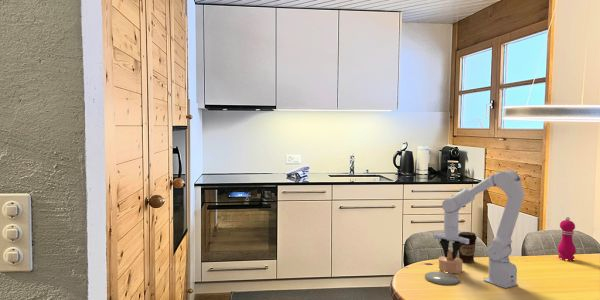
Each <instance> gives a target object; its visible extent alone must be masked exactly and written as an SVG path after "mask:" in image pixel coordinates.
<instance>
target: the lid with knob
mask: <svg viewBox="0 0 600 300" xmlns="http://www.w3.org/2000/svg"><path fill="white" fill-rule="evenodd" d="M463 263H464V262H463V261H462V259H460V258H459V257H457V256H456V259H453V250H448V251H447V258H446V257H445V255H441V256H439V257H438V270H439V269H440V270H442V271H445V272H448V273H450V274H452V273H455V274H456V275H457V273H458V274H461V272H462V273H463ZM440 270H439V271H440ZM442 271H441V272H442ZM455 274H454V275H455Z"/></svg>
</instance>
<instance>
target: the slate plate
mask: <svg viewBox="0 0 600 300" xmlns="http://www.w3.org/2000/svg"><path fill="white" fill-rule="evenodd" d="M424 278H425V280H426V281H428V282H430V283H432V284H436V285H440V286H441V285H442V286H454V285H458V284H459V283H460V277H459V276H457V275H455V274H452V273H445V272H442V271H429V272H426V273H425V274H424Z"/></svg>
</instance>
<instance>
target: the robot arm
mask: <svg viewBox="0 0 600 300" xmlns="http://www.w3.org/2000/svg"><path fill="white" fill-rule="evenodd" d="M492 187H494V188H495V187H498V188H499V189H500V190H501V191H503V192H504V193H505V195H506V197H507V200H506V203H505V207H504V210H503V212H502V215H501V218H500V222H499V225H498V229H497V232H496V235H495V236H494V237H493V239H492V240H491V244H490V245H488V246H487V249H486V255H487V257H488V277H486V278H483V281H484V282H486V283H490V284H493V285H495V286H498V287H501V288H503V289H506V288H511V287H514V286H517V285H519V284H518V283H517V279H518V278H517V276H518V275H517V272H518V268H517V266H516V264H514V263H512V262H511V261H510V258H509V256H510V255H511V254H512V251H513V249H512V243H513V241H512V237H513V236H512V235H513V233H514V230H515V227H516V224H517V221H518V218H519V215H520V211H521V209H522V205H523V202H524V198H525V191H524V189H523V185H522V178H521V177H520V176H519V174H518V173H517V172H516V171H514V170H512V169H508V170H500V171H498V172H496V173H494V174H491V175H489V176H488V177H486V178H485V179H483V180H481V181H480V182H479V183H477V184H475V185H474V186H472V187H471V188H467V187H466V188H460V189H459V192H457V193H456V194H452V195H450V198H445V199H444V200H443V201H442V203H441V207H442V209H443V211H444V212H443V213H444V214H443V233H433V239H435V240H436V239H439V240H440V241H439V244H440V245H441V247H442V251H443V254H444V255H443V256H445V257H446V258H447V251H449V247H450V242H452V243H451V245H452V251H453V259H456V257H457V256H458V254H459V248H460V246H461V244H462V243H465V244H469V239H467V238H463V237H459V236H458V235H459V212H460V210H461V208H463V207H465V206H466V205H468V204H470V203H472V202H474V200H475V199H476V196H477V195H479V194H480V193H482V192H484V191H486V190H488V189H489V188H492Z"/></svg>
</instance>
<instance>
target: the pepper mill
mask: <svg viewBox="0 0 600 300" xmlns="http://www.w3.org/2000/svg"><path fill="white" fill-rule="evenodd" d="M564 219H565V220H562V221H561V222H560V223H559V228H560V233H561V239H560V242H559V244H558V246H557V251H558V253H559V254H558V259H559V258H562V259H568V260H573V259H576V258H575V257H576V256H575V255H576V253H577V249H576V246H575V244H574V242H573V235H574V234H575V232H574V230H575V229H576V225H575V222H574V221H572V220H570V219H571V218H570V217H569V216H566V217H565V218H564Z"/></svg>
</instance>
